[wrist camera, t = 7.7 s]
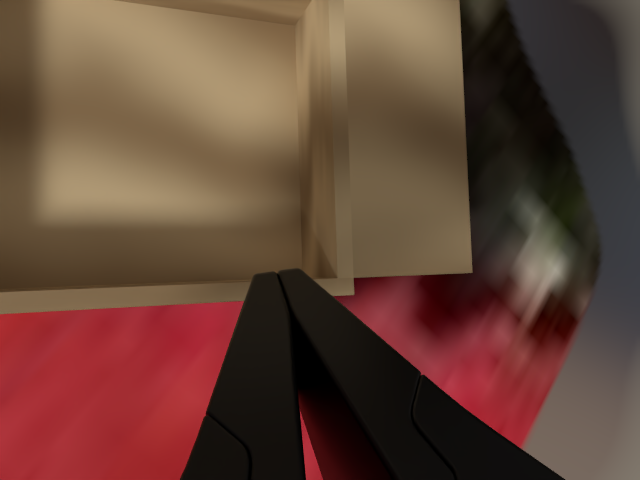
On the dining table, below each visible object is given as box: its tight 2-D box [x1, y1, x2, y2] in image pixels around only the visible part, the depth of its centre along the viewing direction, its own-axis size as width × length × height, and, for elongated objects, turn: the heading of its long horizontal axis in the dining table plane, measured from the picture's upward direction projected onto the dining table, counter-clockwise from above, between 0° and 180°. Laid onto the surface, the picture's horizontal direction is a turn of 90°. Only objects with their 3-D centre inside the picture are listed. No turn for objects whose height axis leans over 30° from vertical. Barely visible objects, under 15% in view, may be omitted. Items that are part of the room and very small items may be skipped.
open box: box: [0, 0, 472, 314], centre depth 18 cm, size 12×24×4 cm, turn 91°
